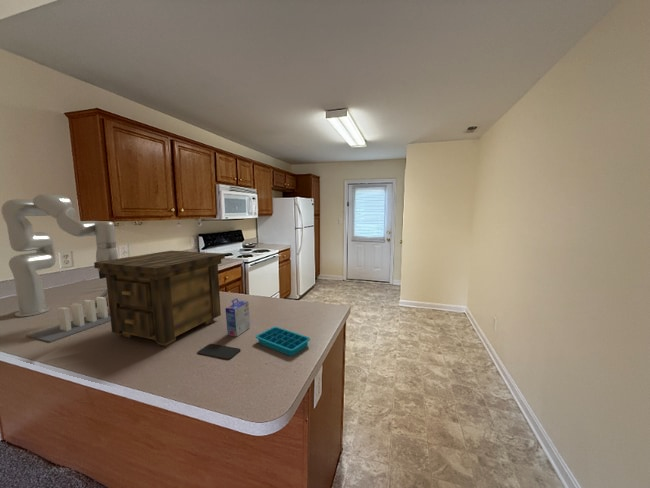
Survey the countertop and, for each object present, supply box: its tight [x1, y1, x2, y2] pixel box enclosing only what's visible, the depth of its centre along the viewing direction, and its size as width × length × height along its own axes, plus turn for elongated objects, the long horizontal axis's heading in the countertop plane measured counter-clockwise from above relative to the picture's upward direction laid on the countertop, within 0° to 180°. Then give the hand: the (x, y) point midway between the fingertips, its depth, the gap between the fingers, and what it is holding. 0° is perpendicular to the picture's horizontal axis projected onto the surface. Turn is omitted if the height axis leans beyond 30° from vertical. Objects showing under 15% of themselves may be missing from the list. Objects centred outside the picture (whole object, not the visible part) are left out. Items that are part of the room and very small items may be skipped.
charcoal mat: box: [26, 311, 111, 343], centre depth 125 cm, size 17×33×1 cm, turn 161°
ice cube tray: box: [255, 326, 311, 356], centre depth 104 cm, size 12×20×3 cm, turn 56°
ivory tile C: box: [70, 302, 85, 326], centre depth 122 cm, size 5×2×10 cm, turn 71°
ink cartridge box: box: [224, 297, 251, 337], centre depth 115 cm, size 10×6×14 cm, turn 161°
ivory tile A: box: [95, 296, 108, 318], centre depth 131 cm, size 5×2×10 cm, turn 71°
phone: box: [197, 343, 242, 361], centre depth 99 cm, size 7×1×15 cm
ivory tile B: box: [83, 299, 97, 322], centre depth 127 cm, size 5×2×10 cm, turn 71°
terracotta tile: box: [106, 294, 110, 313], centre depth 136 cm, size 5×2×10 cm, turn 71°
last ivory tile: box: [57, 306, 71, 331], centre depth 117 cm, size 5×2×10 cm, turn 71°
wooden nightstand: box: [93, 250, 226, 347], centre depth 118 cm, size 35×35×33 cm
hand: (109, 278), depth 134 cm, fingers open, 9 cm apart
